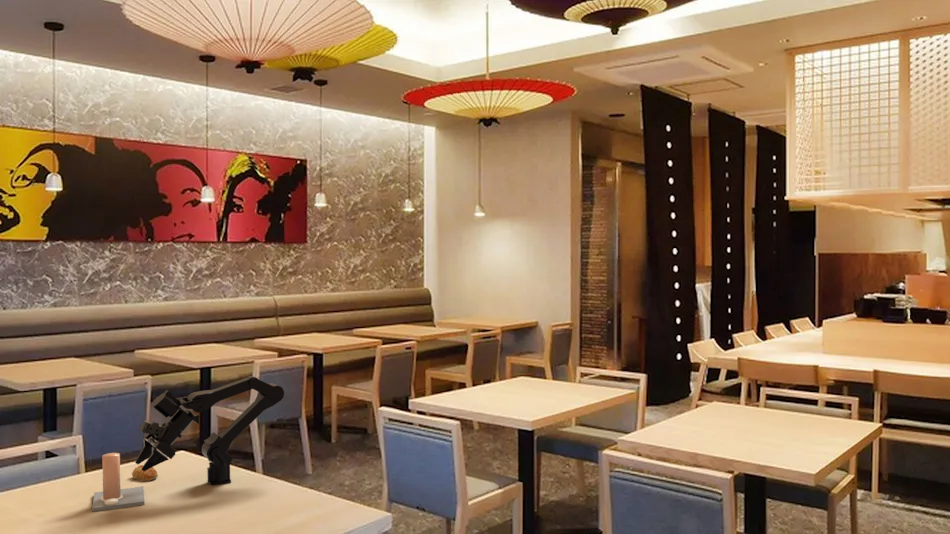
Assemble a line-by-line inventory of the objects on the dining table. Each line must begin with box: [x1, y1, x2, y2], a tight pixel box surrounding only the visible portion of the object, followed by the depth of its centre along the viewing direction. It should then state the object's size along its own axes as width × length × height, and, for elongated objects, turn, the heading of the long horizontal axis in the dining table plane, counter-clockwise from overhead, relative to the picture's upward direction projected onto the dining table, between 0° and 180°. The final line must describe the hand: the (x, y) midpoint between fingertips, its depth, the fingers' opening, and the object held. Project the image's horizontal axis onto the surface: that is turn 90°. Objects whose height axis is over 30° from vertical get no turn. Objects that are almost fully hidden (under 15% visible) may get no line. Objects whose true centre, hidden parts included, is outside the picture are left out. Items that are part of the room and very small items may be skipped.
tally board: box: [91, 486, 145, 512], centre depth 233 cm, size 14×16×2 cm
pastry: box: [131, 464, 159, 482], centre depth 255 cm, size 9×7×4 cm
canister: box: [101, 452, 121, 500], centre depth 232 cm, size 5×5×13 cm
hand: (139, 466), depth 236 cm, fingers open, 9 cm apart
